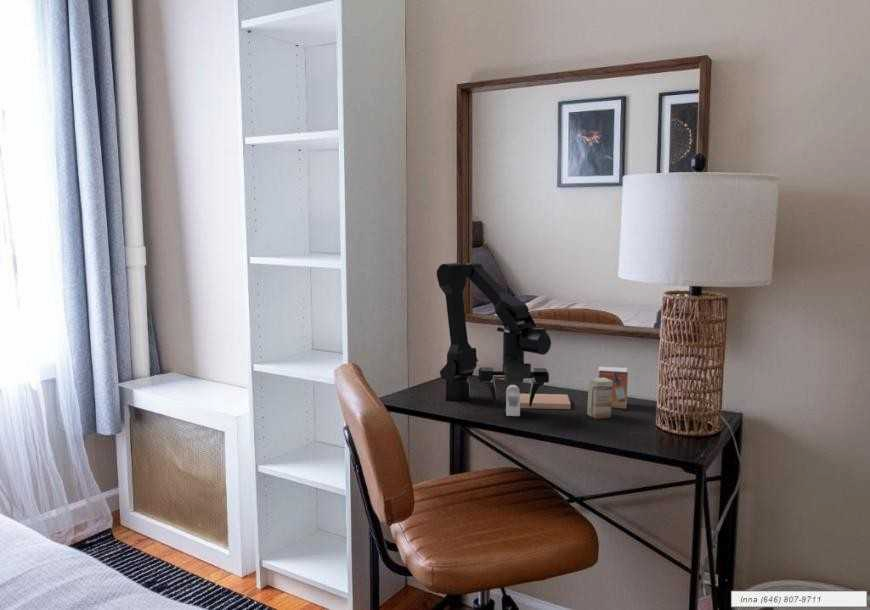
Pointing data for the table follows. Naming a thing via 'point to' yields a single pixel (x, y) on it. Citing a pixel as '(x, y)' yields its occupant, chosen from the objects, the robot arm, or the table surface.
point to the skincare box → (599, 397)
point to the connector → (512, 401)
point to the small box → (616, 384)
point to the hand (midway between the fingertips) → (512, 405)
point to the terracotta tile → (546, 401)
